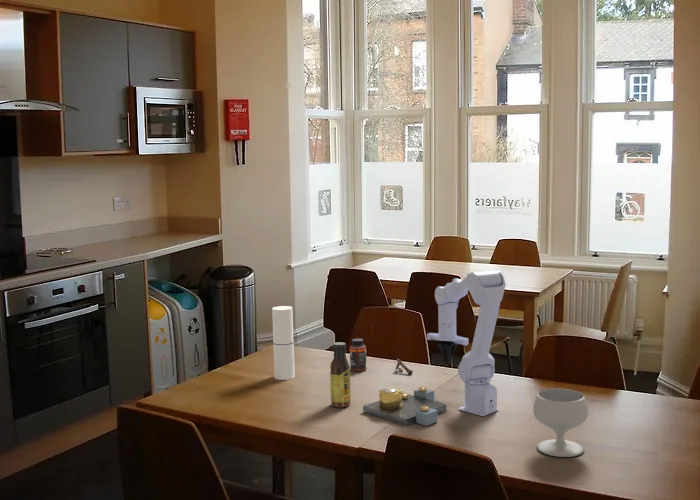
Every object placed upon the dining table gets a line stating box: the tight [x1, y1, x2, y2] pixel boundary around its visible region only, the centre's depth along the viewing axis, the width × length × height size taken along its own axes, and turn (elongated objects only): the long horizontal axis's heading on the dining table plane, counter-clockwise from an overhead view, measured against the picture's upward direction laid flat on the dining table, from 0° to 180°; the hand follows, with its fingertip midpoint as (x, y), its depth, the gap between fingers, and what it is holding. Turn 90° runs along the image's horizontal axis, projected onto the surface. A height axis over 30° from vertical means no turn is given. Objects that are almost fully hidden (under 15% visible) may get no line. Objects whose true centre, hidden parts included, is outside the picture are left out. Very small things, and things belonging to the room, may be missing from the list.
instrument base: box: [362, 387, 448, 427], centre depth 245 cm, size 18×18×7 cm
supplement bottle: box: [349, 338, 367, 373], centre depth 293 cm, size 6×6×11 cm
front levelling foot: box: [413, 386, 435, 401], centre depth 255 cm, size 5×4×4 cm
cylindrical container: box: [271, 305, 296, 381], centre depth 285 cm, size 7×7×25 cm
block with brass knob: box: [416, 406, 439, 426], centre depth 235 cm, size 4×5×4 cm
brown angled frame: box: [395, 358, 414, 376], centre depth 288 cm, size 2×8×4 cm, turn 37°
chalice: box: [532, 387, 589, 458], centre depth 212 cm, size 14×14×15 cm
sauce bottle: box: [329, 341, 352, 409], centre depth 252 cm, size 6×6×20 cm
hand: (447, 363), depth 262 cm, fingers closed
